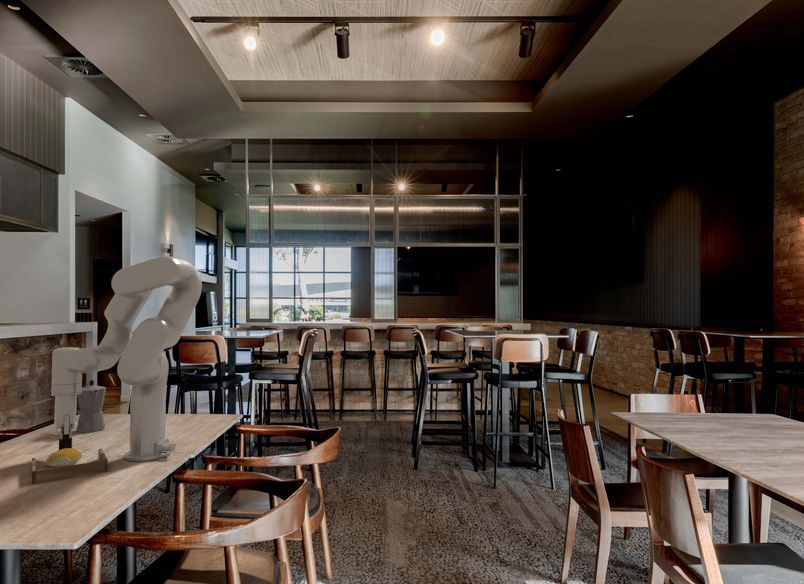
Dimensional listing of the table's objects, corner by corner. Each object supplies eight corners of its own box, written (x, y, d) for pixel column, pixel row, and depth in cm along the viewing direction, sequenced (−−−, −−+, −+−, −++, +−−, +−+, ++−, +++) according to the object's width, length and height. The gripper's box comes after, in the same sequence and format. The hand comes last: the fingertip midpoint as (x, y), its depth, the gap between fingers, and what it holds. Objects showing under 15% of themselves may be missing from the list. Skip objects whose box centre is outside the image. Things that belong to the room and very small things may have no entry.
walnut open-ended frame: (31, 469, 140) (31, 458, 141) (101, 458, 150) (101, 448, 150) (31, 484, 128) (31, 472, 129) (107, 471, 138) (107, 460, 138)
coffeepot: (110, 430, 185) (111, 380, 186) (80, 435, 179) (81, 383, 179) (99, 424, 196) (99, 376, 197) (70, 428, 190) (71, 379, 191)
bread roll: (83, 457, 152) (83, 443, 153) (76, 465, 144) (77, 451, 144) (50, 460, 149) (50, 446, 149) (41, 469, 141) (42, 454, 141)
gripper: (51, 387, 156) (49, 448, 156) (51, 393, 144) (50, 460, 143) (80, 385, 161) (78, 444, 160) (83, 391, 148) (81, 455, 148)
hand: (65, 451), depth 152 cm, fingers closed
